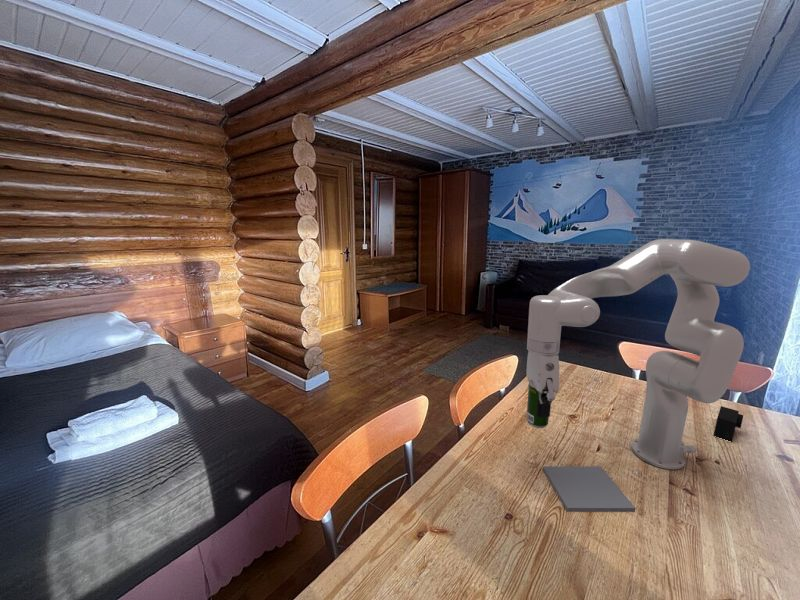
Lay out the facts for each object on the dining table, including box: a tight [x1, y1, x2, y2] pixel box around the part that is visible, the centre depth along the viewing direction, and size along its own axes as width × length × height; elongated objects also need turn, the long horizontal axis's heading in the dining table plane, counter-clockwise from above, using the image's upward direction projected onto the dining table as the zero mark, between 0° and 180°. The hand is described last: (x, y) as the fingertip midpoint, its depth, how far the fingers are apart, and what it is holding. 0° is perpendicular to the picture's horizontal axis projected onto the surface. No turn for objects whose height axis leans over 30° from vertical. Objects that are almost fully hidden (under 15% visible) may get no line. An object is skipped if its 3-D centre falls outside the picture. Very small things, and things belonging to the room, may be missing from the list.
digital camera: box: [712, 405, 744, 443], centre depth 107 cm, size 10×5×7 cm, turn 132°
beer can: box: [526, 380, 550, 429], centre depth 87 cm, size 5×5×12 cm
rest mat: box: [542, 465, 636, 513], centre depth 85 cm, size 16×14×1 cm
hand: (538, 409), depth 87 cm, fingers closed on beer can, 5 cm apart
